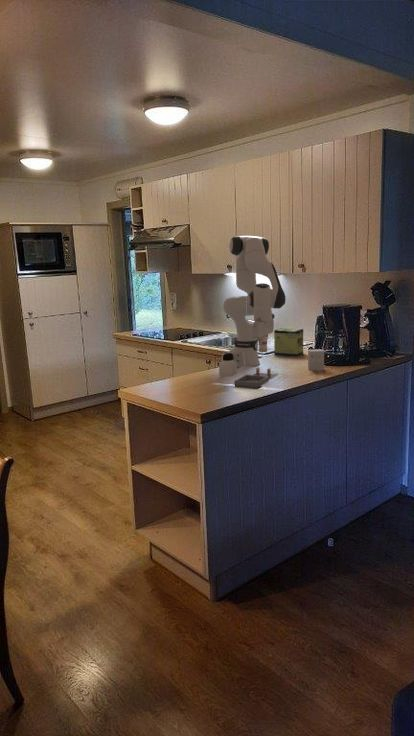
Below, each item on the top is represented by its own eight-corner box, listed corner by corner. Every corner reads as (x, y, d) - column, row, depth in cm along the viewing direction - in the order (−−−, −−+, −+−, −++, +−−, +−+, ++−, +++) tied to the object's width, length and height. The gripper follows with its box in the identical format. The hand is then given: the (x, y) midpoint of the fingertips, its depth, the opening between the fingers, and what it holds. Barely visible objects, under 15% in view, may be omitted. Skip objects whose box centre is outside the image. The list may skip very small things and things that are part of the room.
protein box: (297, 356, 318) (297, 331, 314) (273, 354, 326) (273, 330, 323) (303, 353, 326) (303, 329, 323) (280, 352, 335) (280, 327, 331)
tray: (234, 386, 250) (234, 380, 249) (246, 380, 262) (246, 374, 261) (257, 389, 244) (257, 382, 244) (268, 382, 256) (268, 376, 256)
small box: (322, 368, 284) (323, 349, 281) (324, 370, 278) (324, 350, 276) (307, 368, 284) (307, 349, 282) (308, 370, 279) (308, 351, 277)
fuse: (257, 351, 263) (257, 334, 261) (261, 350, 266) (261, 332, 264) (264, 352, 260) (264, 334, 258) (268, 351, 264) (268, 333, 262)
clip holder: (247, 379, 264) (247, 369, 262) (257, 374, 274) (256, 365, 273) (270, 381, 258) (270, 371, 257) (278, 376, 268) (278, 366, 267)
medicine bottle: (236, 375, 275) (236, 352, 272) (231, 378, 268) (231, 355, 266) (224, 374, 278) (223, 351, 275) (219, 377, 271) (218, 354, 269)
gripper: (260, 319, 249) (261, 348, 252) (275, 314, 267) (276, 341, 270) (248, 319, 252) (249, 347, 255) (264, 314, 270) (264, 340, 273)
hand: (263, 344), depth 262 cm, fingers closed on fuse, 4 cm apart
